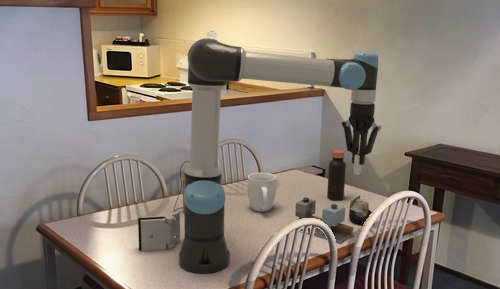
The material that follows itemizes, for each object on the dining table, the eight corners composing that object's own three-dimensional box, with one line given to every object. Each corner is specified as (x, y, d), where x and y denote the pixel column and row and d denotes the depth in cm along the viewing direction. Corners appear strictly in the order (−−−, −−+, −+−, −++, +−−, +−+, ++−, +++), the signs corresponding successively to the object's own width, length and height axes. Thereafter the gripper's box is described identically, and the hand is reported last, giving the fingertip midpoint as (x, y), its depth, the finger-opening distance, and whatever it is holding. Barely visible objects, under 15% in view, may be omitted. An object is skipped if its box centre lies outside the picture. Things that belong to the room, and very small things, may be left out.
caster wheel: (363, 233, 178) (340, 221, 184) (380, 219, 185) (357, 208, 192) (365, 218, 175) (341, 207, 181) (382, 204, 182) (358, 194, 188)
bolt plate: (340, 243, 163) (340, 240, 163) (287, 227, 175) (288, 224, 175) (349, 237, 168) (349, 234, 168) (298, 222, 180) (298, 219, 180)
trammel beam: (346, 239, 166) (348, 213, 164) (294, 223, 179) (296, 199, 176) (356, 233, 172) (357, 207, 170) (305, 218, 184) (306, 194, 182)
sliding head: (334, 231, 169) (335, 209, 167) (321, 228, 172) (322, 205, 170) (344, 225, 174) (345, 203, 172) (331, 222, 177) (332, 200, 175)
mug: (279, 217, 184) (281, 183, 181) (250, 218, 183) (251, 184, 180) (272, 203, 199) (273, 172, 196) (245, 204, 197) (246, 172, 194)
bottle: (323, 197, 207) (326, 151, 202) (333, 194, 211) (336, 148, 207) (336, 202, 202) (339, 154, 197) (346, 198, 206) (350, 151, 202)
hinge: (179, 240, 163) (179, 211, 161) (184, 246, 158) (184, 217, 156) (137, 247, 157) (136, 217, 155) (141, 254, 153) (140, 223, 150)
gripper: (387, 103, 157) (380, 175, 162) (349, 99, 165) (344, 167, 170) (377, 105, 151) (370, 180, 157) (338, 101, 159) (334, 172, 164)
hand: (357, 173), depth 163 cm, fingers closed
